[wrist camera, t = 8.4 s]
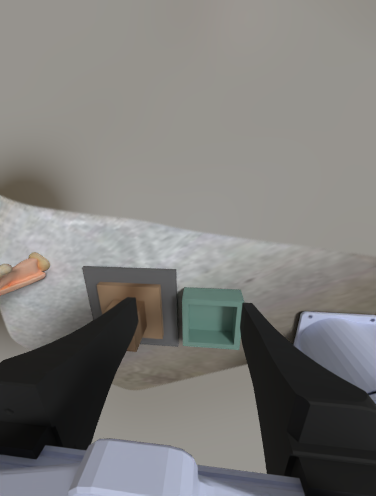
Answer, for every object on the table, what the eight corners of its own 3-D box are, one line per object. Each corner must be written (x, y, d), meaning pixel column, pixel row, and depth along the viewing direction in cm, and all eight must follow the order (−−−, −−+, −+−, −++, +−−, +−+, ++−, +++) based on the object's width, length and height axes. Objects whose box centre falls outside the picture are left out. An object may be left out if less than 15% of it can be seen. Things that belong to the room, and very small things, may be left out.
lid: (160, 284, 24) (149, 308, 19) (163, 334, 27) (154, 366, 22) (99, 281, 25) (75, 304, 20) (108, 330, 27) (89, 360, 23)
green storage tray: (240, 289, 23) (244, 301, 21) (236, 334, 26) (239, 349, 24) (184, 287, 24) (181, 298, 22) (185, 331, 26) (183, 345, 24)
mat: (176, 269, 23) (175, 270, 23) (178, 344, 27) (178, 346, 27) (84, 266, 24) (82, 267, 24) (99, 338, 29) (98, 340, 28)
